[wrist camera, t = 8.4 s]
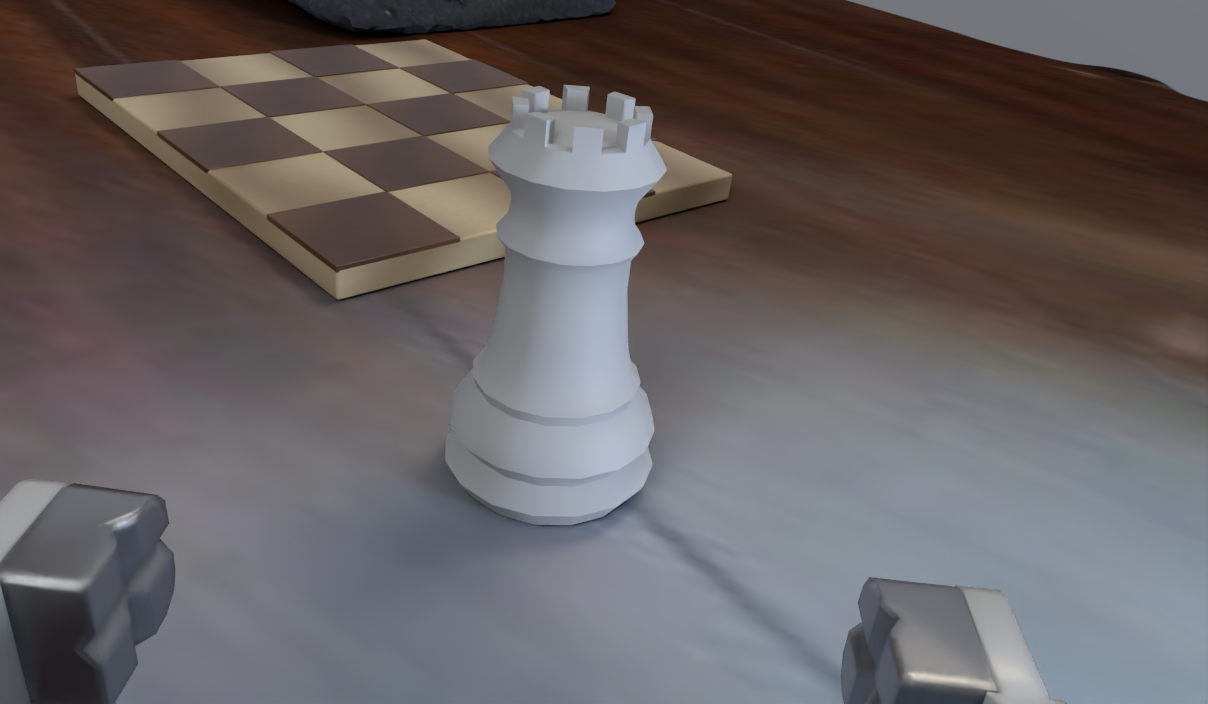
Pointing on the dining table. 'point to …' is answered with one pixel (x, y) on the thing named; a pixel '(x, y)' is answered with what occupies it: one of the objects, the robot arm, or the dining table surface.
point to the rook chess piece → (561, 318)
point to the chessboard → (351, 153)
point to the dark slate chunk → (444, 13)
